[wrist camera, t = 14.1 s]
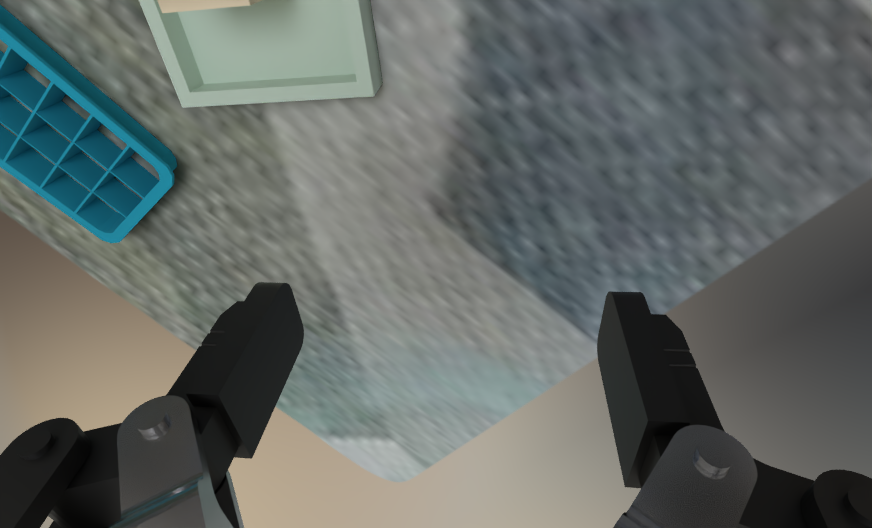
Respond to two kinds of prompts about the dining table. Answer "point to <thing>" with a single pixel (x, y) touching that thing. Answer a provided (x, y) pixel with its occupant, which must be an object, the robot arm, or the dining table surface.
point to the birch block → (200, 4)
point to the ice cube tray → (74, 140)
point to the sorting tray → (268, 51)
